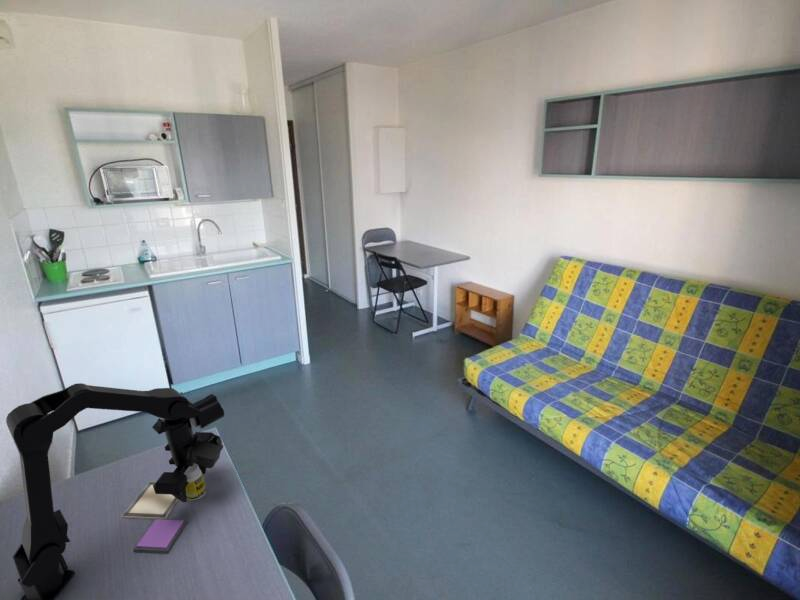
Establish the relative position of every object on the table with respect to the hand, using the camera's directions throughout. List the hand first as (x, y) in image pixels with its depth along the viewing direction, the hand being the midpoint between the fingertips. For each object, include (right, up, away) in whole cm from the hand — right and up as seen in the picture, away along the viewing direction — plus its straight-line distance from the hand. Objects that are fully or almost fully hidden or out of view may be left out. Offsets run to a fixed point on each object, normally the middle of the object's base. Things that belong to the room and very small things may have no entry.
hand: (194, 487), depth 108 cm
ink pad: (-2, -7, -11) cm, 13 cm away
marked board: (-9, -3, -1) cm, 10 cm away
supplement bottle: (0, -2, +1) cm, 2 cm away
